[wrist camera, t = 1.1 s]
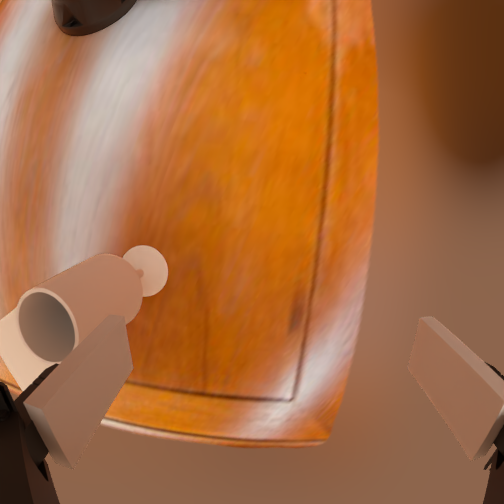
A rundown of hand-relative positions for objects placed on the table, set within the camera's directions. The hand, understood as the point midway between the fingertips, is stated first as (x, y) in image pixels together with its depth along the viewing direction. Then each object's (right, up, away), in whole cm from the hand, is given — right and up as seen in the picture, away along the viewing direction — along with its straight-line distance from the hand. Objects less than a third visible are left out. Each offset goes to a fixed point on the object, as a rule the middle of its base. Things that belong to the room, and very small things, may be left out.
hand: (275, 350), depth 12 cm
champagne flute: (-15, +2, +26) cm, 30 cm away
